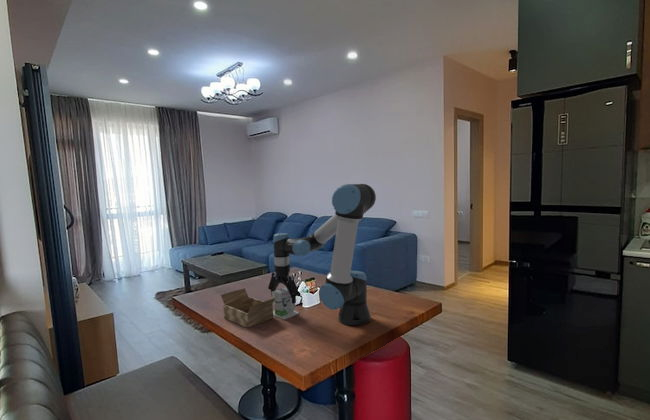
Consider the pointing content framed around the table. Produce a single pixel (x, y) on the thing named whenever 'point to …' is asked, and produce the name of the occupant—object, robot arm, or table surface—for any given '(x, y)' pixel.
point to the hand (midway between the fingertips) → (283, 306)
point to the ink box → (282, 302)
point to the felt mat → (286, 315)
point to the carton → (246, 308)
